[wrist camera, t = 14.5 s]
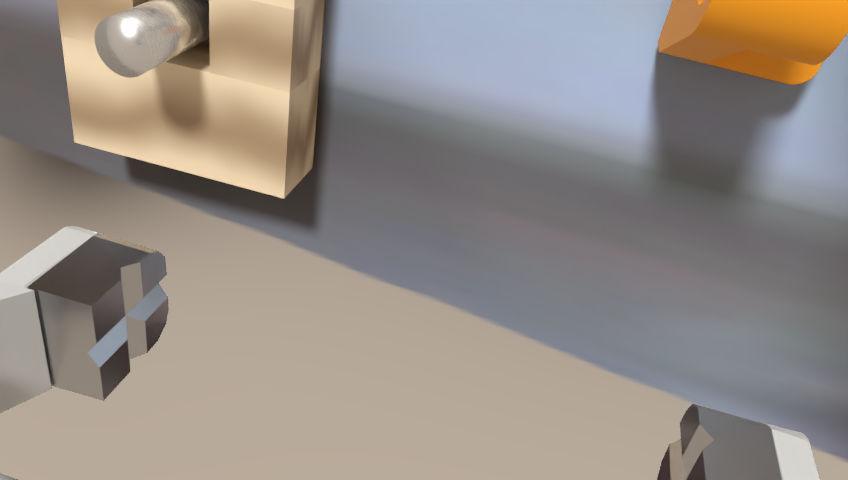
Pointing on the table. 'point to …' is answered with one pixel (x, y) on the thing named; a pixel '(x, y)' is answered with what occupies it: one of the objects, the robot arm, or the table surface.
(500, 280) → the table surface
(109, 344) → the robot arm
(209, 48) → the oak hole block
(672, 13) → the bracket
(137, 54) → the steel pin
